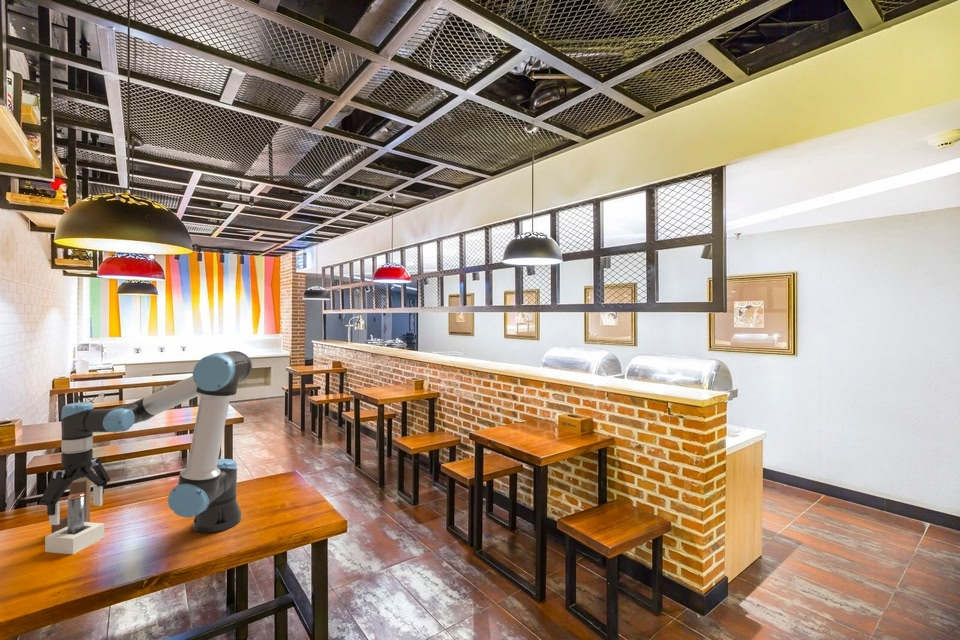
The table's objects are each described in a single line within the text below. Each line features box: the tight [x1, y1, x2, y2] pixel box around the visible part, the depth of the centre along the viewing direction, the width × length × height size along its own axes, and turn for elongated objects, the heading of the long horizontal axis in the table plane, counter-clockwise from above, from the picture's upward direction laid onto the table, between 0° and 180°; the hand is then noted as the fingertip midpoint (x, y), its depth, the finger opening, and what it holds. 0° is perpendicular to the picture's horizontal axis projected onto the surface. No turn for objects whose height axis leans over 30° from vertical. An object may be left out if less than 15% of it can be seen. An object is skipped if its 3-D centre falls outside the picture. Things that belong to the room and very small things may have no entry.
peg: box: [67, 492, 85, 535], centre depth 139 cm, size 4×4×17 cm
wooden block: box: [50, 477, 92, 534], centre depth 147 cm, size 9×4×18 cm, turn 118°
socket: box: [44, 521, 105, 555], centre depth 139 cm, size 10×10×5 cm
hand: (77, 514), depth 139 cm, fingers open, 13 cm apart
